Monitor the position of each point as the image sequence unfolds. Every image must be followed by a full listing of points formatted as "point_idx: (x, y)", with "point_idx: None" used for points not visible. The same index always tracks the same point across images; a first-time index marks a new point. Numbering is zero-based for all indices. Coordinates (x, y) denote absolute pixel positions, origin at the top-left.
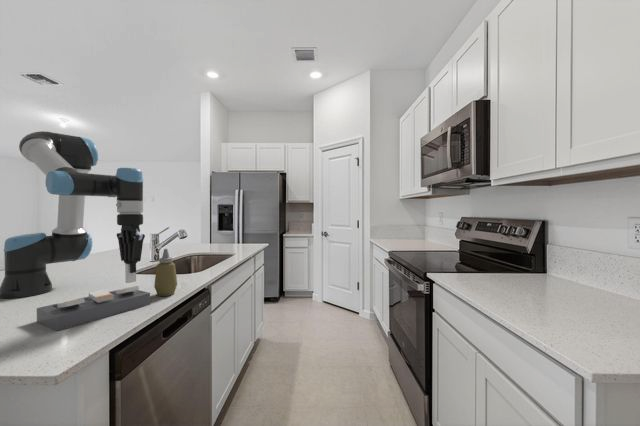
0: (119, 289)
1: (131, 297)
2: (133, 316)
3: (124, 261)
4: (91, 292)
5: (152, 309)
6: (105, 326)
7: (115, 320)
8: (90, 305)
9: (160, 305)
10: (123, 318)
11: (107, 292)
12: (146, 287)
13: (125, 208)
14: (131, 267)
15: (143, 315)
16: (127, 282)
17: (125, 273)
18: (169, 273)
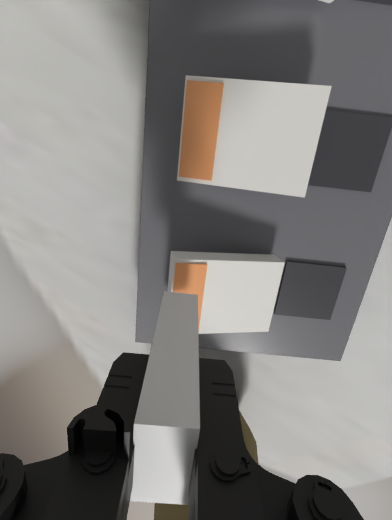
0: (277, 281)
1: (142, 254)
2: (49, 177)
3: (227, 462)
4: (320, 102)
5: (68, 270)
6: (21, 24)
7: (67, 104)
8: (210, 43)
9: (89, 315)
10: (62, 139)
11: (244, 182)
12: (371, 441)
13: None
14: (108, 399)
15: (24, 204)
16: (171, 294)
17: (198, 338)
18: (156, 516)
